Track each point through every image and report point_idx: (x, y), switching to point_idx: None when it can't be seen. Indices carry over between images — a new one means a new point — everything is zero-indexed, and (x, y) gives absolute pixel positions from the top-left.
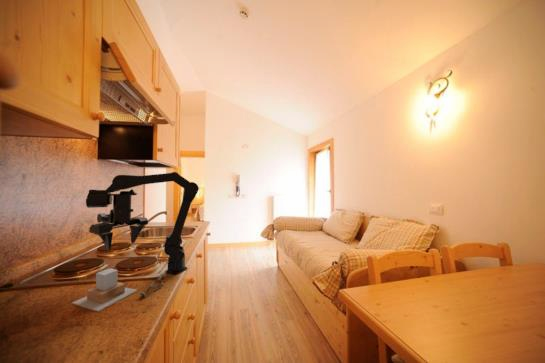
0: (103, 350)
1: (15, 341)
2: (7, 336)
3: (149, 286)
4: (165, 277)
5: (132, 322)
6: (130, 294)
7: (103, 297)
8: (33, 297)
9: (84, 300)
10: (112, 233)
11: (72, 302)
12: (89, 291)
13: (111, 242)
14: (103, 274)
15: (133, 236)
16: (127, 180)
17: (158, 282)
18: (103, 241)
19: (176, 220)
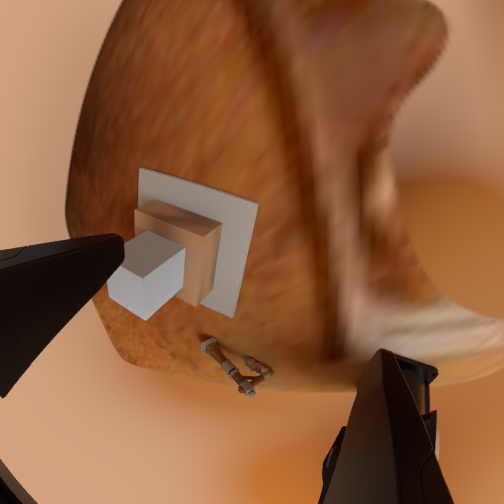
0: (110, 328)
1: (71, 192)
2: (71, 163)
3: (223, 362)
4: (338, 364)
5: (148, 345)
6: (212, 307)
7: None
8: (153, 7)
9: (153, 194)
10: (6, 390)
11: (139, 168)
12: (135, 220)
13: (67, 322)
14: (110, 289)
15: (358, 449)
16: None
17: (248, 378)
18: (24, 254)
19: None
